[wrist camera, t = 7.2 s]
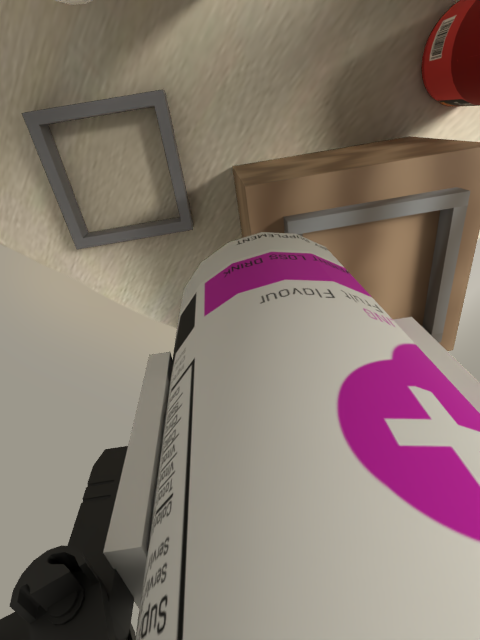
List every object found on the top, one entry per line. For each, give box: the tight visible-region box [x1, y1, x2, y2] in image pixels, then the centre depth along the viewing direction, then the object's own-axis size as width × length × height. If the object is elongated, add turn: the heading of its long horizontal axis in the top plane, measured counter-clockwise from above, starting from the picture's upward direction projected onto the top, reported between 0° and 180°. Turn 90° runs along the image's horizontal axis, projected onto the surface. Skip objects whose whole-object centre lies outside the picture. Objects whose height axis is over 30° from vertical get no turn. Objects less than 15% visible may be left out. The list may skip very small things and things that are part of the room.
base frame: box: [22, 90, 194, 249], centre depth 33 cm, size 12×12×2 cm
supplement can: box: [136, 232, 480, 640], centre depth 10 cm, size 8×8×15 cm
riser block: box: [232, 137, 480, 351], centre depth 33 cm, size 18×18×14 cm
